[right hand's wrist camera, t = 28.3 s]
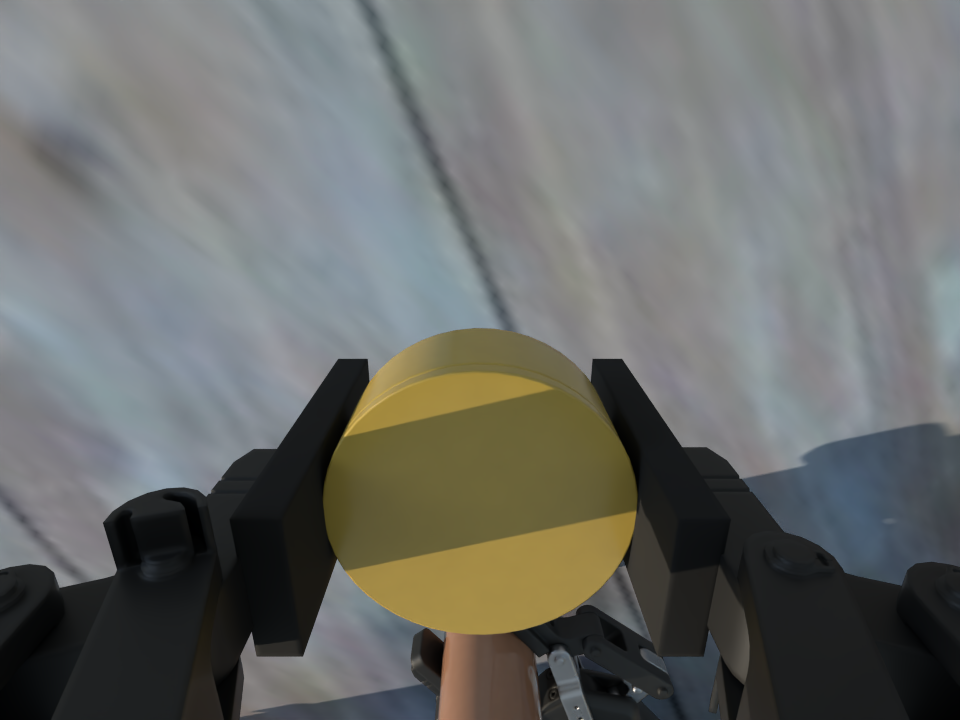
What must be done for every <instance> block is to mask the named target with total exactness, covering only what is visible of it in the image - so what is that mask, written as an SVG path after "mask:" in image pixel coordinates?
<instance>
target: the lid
mask: <svg viewBox="0 0 960 720" xmlns="http://www.w3.org/2000/svg"><path fill="white" fill-rule="evenodd" d="M637 501H638V490H637V484H636V477H635V474H634V471H633V467H632V464H631V461H630V458H629V456H628V454H627V452H626V450H625V448H624V446H623V444H622V442H621V440H620V438H619V436H618V434H617V432H616V430H615V428H614V426H613V424H612V421H611V419H610V417H609V415H608V413H607V411H606V409H605V407H604V405H603V403H602V401H601V399H600V397H599V395H598V393H597V391H596V389H595V388H594V386H593V385H592V383H591V382H590V381H589V379H588V378H587V376H586V375H585V374H584V373H583V372H582V371H581V370H580V369H579V368H578V367H577V366H576V365H575V364H574V363H573V362H572V361H571V360H569V359H568V358H567V357H566V356H564V355H563V354H562V353H561V352H559V351H557V350H556V349H554V348H552V347H551V346H549V345H547V344H545V343H543V342H541V341H538V340H536V339H534V338H532V337H529V336H526V335H522V334H519V333H515V332H512V331H505V330H498V329H484V328H472V329H462V330H455V331H450V332H446V333H441V334H438V335H435V336H432V337H429V338H427V339H424V340H421V341H419V342H418V343H416V344H414V345H412V346H410V347H408V348H406V349H405V350H403V351H402V352H400V353H399V354H397V355H396V356H395V357H393V358H392V359H391V360H390V361H389V362H387V363H386V364H385V365H384V366H383V367H382V368H381V369H380V370H379V371H378V372H377V374H376V375H375V376H374V377H373V379H372V380H371V381H370V382H369V384H368V385H367V387H366V389H365V391H364V392H363V394H362V396H361V397H360V399H359V402H358V404H357V406H356V408H355V410H354V412H353V414H352V416H351V418H350V420H349V422H348V424H347V426H346V428H345V430H344V433H343V435H342V437H341V439H340V441H339V443H338V445H337V447H336V449H335V451H334V453H333V456H332V458H331V461H330V463H329V466H328V468H327V473H326V477H325V481H324V486H323V507H324V516H325V524H326V531H327V536H328V539H329V541H330V544H331V546H332V549H333V551H334V553H335V555H336V557H337V559H338V560H339V562H340V564H341V565H342V567H343V569H344V570H345V571H346V573H347V574H348V575H349V576H350V578H351V579H352V580H353V581H354V583H355V584H356V585H357V586H358V587H359V588H361V589H362V590H363V591H364V592H365V593H366V594H367V595H368V596H369V597H371V598H372V599H373V600H374V601H376V602H377V603H378V604H380V605H381V606H383V607H384V608H386V609H388V610H389V611H391V612H393V613H395V614H396V615H398V616H400V617H403V618H405V619H407V620H409V621H411V622H414V623H417V624H420V625H423V626H426V627H429V628H433V629H437V630H442V631H446V632H452V633H461V634H478V635H488V634H500V633H508V632H514V631H519V630H524V629H527V628H531V627H534V626H538V625H541V624H544V623H546V622H549V621H551V620H554V619H556V618H558V617H560V616H562V615H564V614H566V613H568V612H569V611H571V610H573V609H575V608H576V607H578V606H579V605H580V604H582V603H583V602H585V601H586V600H588V599H589V598H590V597H591V596H592V595H593V594H595V593H596V592H597V591H598V590H599V589H600V588H601V587H602V586H603V585H604V584H605V583H606V582H607V581H608V579H609V578H610V577H611V576H612V575H613V574H614V572H615V571H616V569H617V568H618V566H619V565H620V563H621V562H622V560H623V558H624V556H625V554H626V552H627V550H628V548H629V546H630V543H631V540H632V537H633V533H634V526H635V518H636V510H637Z"/></svg>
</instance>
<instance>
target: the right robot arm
mask: <svg viewBox="0 0 960 720" xmlns="http://www.w3.org/2000/svg"><path fill="white" fill-rule="evenodd" d="M591 383H592V385H593V386H594V388H595V389H596V391H597V393H598V395H599V397H600V399H601V401H602V403H603V405H604V407H605V409H606V411H607V413H608V415H609V417H610V419H611V421H612V424H613V426H614V428H615V430H616V432H617V434H618V436H619V438H620V440H621V442H622V444H623V446H624V448H625V450H626V452H627V454H628V456H629V458H630V461H631V464H632V467H633V471H634V474H635V477H636V484H637V490H638V501H637V510H636V518H635V526H634V533H633V537H632V540H631V543H630V546H629V548H628V550H627V552H626V554H625V556H624V558H623V560H624V562H625V565H626V568H627V571H628V574H629V577H630V579H631V582H632V585H633V588H634V591H635V594H636V597H637V599H638V602H639V605H640V608H641V611H642V614H643V617H644V619H645V622H646V625H647V628H648V631H649V634H650V637H651V639H652V642H653V645H654V648H655V651H656V654H657V656H704V652H705V647H706V642H707V637H708V632H709V630H710V632H711V635H712V637H713V639H714V641H715V643H716V645H717V647H718V649H719V651H720V658H719V662H718V667H717V672H716V676H715V681H714V685H713V690H712V695H711V699H710V706H709V712H712V713H716V712H717V708H718V703H719V708H720V717H721V720H960V567H957V566H954V565H949V564H942V563H936V562H926V563H917V564H915V565H914V566H912V567H911V568H910V569H908V570H907V573H906V576H905V578H904V581H903V584H902V586H900V585H895V584H891V583H886V582H881V581H877V580H872V579H867V578H863V577H858V576H854V575H851V574H847V573H844V571H843V569H842V567H841V566H840V565H839V563H838V562H837V561H836V559H835V558H834V557H833V556H832V555H831V554H829V553H828V552H827V551H825V550H824V549H823V548H822V547H820V546H819V545H817V544H815V543H813V542H811V541H808V540H806V539H804V538H802V537H799V536H796V535H792V534H788V533H785V532H784V531H783V530H782V529H781V528H780V526H779V525H778V524H777V523H776V521H775V520H774V519H773V518H772V516H771V515H770V514H769V513H768V511H767V510H766V509H765V508H764V506H763V505H762V504H761V503H760V501H759V500H758V499H757V498H756V496H755V495H754V494H753V493H752V492H750V491H749V488H748V486H747V485H746V484H745V482H744V481H743V480H742V479H739V475H738V474H737V472H736V471H735V470H734V469H733V467H732V466H731V465H730V464H729V462H728V461H727V460H725V459H724V458H722V457H721V456H719V455H718V454H716V453H715V452H713V451H711V450H710V449H708V448H707V447H682V446H681V445H680V443H679V442H678V441H677V439H676V438H675V436H674V435H673V433H672V432H671V430H670V429H669V427H668V426H667V424H666V423H665V421H664V420H663V418H662V417H661V416H660V414H659V413H658V411H657V410H656V408H655V407H654V405H653V404H652V402H651V401H650V399H649V398H648V396H647V395H646V394H645V392H644V391H643V389H642V388H641V386H640V385H639V383H638V382H637V380H636V379H635V377H634V376H633V374H632V373H631V372H630V370H629V369H628V367H627V366H626V364H625V363H624V361H623V360H622V359H593V362H592V374H591ZM368 384H369V370H368V359H338V360H337V362H336V363H335V365H334V366H333V368H332V369H331V371H330V372H329V373H328V375H327V376H326V378H325V379H324V381H323V382H322V384H321V385H320V387H319V388H318V390H317V391H316V393H315V394H314V395H313V397H312V398H311V400H310V401H309V403H308V404H307V406H306V407H305V409H304V410H303V412H302V413H301V415H300V416H299V418H298V419H297V420H296V422H295V423H294V425H293V426H292V428H291V429H290V431H289V432H288V434H287V435H286V437H285V438H284V440H283V441H282V442H281V444H280V445H279V447H278V448H277V449H253V450H252V451H250V452H249V453H247V454H246V455H244V456H243V457H241V458H240V459H238V460H236V461H235V462H234V463H233V464H232V465H231V466H230V468H229V469H228V470H227V471H226V473H225V474H224V475H223V476H222V480H221V481H218V483H217V484H216V485H215V487H214V488H213V489H212V490H211V494H208V495H207V497H206V496H204V495H203V494H202V493H201V492H199V491H198V490H194V489H189V488H166V489H162V490H158V491H154V492H150V493H146V494H144V495H142V496H139V497H137V498H134V499H132V500H130V501H128V502H126V503H125V504H123V505H122V506H120V507H119V508H117V509H116V510H114V511H113V512H112V513H111V514H110V515H109V516H108V518H107V519H106V520H105V521H104V522H103V524H104V528H105V531H106V534H107V538H108V541H109V544H110V548H111V551H112V554H113V557H114V561H115V564H116V567H117V572H116V574H115V576H111V577H108V578H104V579H99V580H94V581H90V582H85V583H81V584H76V585H71V586H67V587H62V588H59V586H58V583H57V580H56V577H55V574H54V572H53V571H51V570H50V569H49V568H47V567H46V566H41V565H32V564H28V565H21V566H15V567H9V568H6V569H2V570H0V720H239V719H240V709H241V700H242V691H243V682H244V674H243V667H242V662H241V658H240V655H241V653H242V651H243V649H244V646H245V644H246V642H247V640H248V638H249V636H250V634H251V632H252V635H253V640H254V645H255V650H256V655H257V656H303V655H304V652H305V649H306V646H307V643H308V640H309V637H310V635H311V632H312V629H313V626H314V623H315V620H316V618H317V615H318V612H319V609H320V606H321V603H322V600H323V598H324V595H325V592H326V589H327V586H328V583H329V580H330V578H331V575H332V572H333V569H334V566H335V563H336V560H337V557H336V555H335V553H334V551H333V549H332V546H331V544H330V541H329V539H328V536H327V531H326V524H325V516H324V507H323V486H324V481H325V477H326V473H327V468H328V466H329V463H330V461H331V458H332V456H333V453H334V451H335V449H336V447H337V445H338V443H339V441H340V439H341V437H342V435H343V433H344V430H345V428H346V426H347V424H348V422H349V420H350V418H351V416H352V414H353V412H354V410H355V408H356V406H357V404H358V402H359V399H360V397H361V396H362V394H363V392H364V391H365V389H366V387H367V385H368Z"/></svg>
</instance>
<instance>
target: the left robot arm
mask: <svg viewBox="0 0 960 720" xmlns="http://www.w3.org/2000/svg"><path fill="white" fill-rule="evenodd" d="M513 633H514V634H515V635H516V636H517V637H518V638H519V639H520V640H521V641H522V642H523V643H524V644H525V645H527V646H528V647H529V648H530V649H531V650H532V651H533V652H534V653H535V654H536V655H537V656H538V657H541V656H542V655H544V654H547V659H548V663H549V666H550V668H548V669H546V670H545V671H544V672H543V673H542V674H540V675H539V676H538V681H539V690H540V700H541V709H542V718H543V720H659V719H658V718H657V717H656V716H655V715H654V714H653V713H652V712H651V711H650V710H649V709H648V708H647V707H646V706H645V705H644V704H643V703H642V702H641V700H642V699H643V698H645V697H646V696H647V695H648V694H649V695H651V696H652V697H654V698H656V699H666V698H669V697H670V696H671V695H672V694H673V692H674V688H673V686H672V683H671V680H670V677H669V674H668V671H667V669H666V666H665V663H664V660H663V657H662V656H657V654H656V651H655V648H654V645H653V643H651V642H650V641H648V640H647V639H645V638H643V637H642V636H640V635H639V634H637V633H635V632H634V631H632V630H631V629H629V628H627V627H626V626H624V625H623V624H621V623H619V622H618V621H616V620H615V619H613V618H611V617H610V616H608V615H607V614H605V613H603V612H602V611H600V610H599V609H597V608H595V607H594V606H591V605H584V606H581V607H580V608H578V610H577V611H576V615H575V616H571V617H566V618H563V617H562V616H560V617H558V618H556V619H554V620H551V621H549V622H546V623H544V624H541V625H538V626H534V627H531V628H527V629H524V630H519V631H514V632H513ZM443 647H444V642H443V641H442V640H440V639H439V638H438V637H437V636H436V635H435V634H434V633H433V632H431V631H430V630H429V629H427V628H425V629H423V630H422V631H420V632H419V633H417V634H415V635H414V638H413V645H412V653H411V664H412V667H411V671H412V673H413V675H414V677H416V678H417V679H418V680H419V681H420V682H422V683H423V684H424V685H425V686H427V688H429V689H430V690H431V691H432V692H433V693H435V694H436V714H435V720H438V713H439V700H440V687H441V673H442V660H443ZM582 654H584V655H585V656H586V657H587V658H588V659H590V660H592V661H593V662H595V663H597V664H599V665H600V666H602V667H604V668H605V669H607V670H609V671H610V672H612V673H614V674H615V675H612V674H607V673H602V672H597V671H592V670H587V669H584V667H583V665H582V663H581V660H580V657H579V655H582Z"/></svg>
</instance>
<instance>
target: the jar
mask: <svg viewBox="0 0 960 720" xmlns="http://www.w3.org/2000/svg"><path fill="white" fill-rule="evenodd" d="M438 720H543V718H542V709H541V700H540V690H539V681H538V672H537V662H536V654H535V653H534V652H533V651H532V650H531V649H530V648H529V647H528V646H527V645H525V644H524V643H523V642H522V641H521V640H520V639H519V638H518V637H517V636H516V635H515V634H514V633H513V632H508V633H500V634H488V635H478V634H461V633H452V632H446V631H445V633H444V647H443V660H442V673H441V687H440V700H439V713H438Z"/></svg>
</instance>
